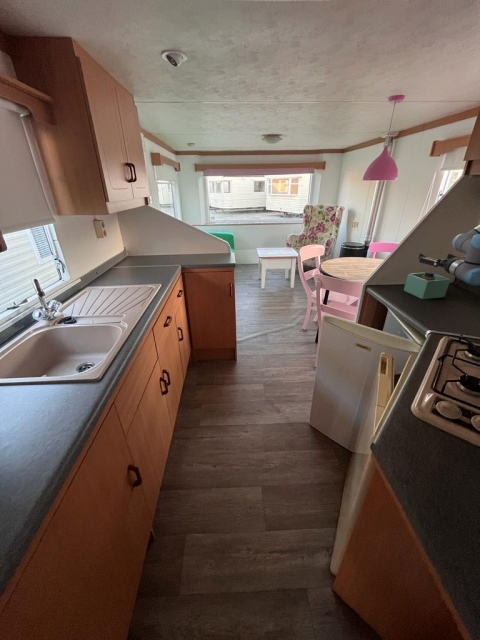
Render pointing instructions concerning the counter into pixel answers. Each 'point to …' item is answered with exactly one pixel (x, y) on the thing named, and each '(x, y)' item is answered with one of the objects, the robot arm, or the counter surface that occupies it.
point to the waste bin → (426, 286)
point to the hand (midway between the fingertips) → (433, 256)
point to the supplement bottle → (428, 276)
